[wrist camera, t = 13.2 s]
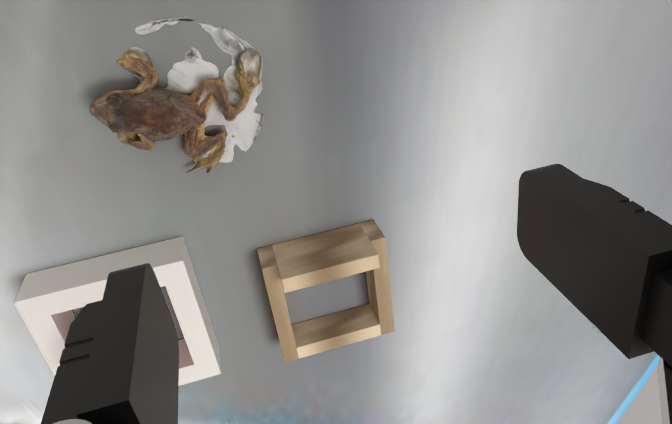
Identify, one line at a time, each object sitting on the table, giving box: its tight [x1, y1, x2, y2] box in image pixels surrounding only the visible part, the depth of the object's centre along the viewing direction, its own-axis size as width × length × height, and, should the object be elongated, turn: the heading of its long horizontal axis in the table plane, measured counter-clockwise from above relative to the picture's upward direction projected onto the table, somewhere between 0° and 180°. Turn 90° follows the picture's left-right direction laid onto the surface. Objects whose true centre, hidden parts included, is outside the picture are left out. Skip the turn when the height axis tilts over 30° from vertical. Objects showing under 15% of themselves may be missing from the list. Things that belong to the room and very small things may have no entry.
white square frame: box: [14, 236, 221, 386], centre depth 41 cm, size 12×12×4 cm
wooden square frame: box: [257, 220, 394, 362], centre depth 44 cm, size 10×10×5 cm
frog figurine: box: [90, 17, 263, 173], centre depth 35 cm, size 12×12×4 cm
